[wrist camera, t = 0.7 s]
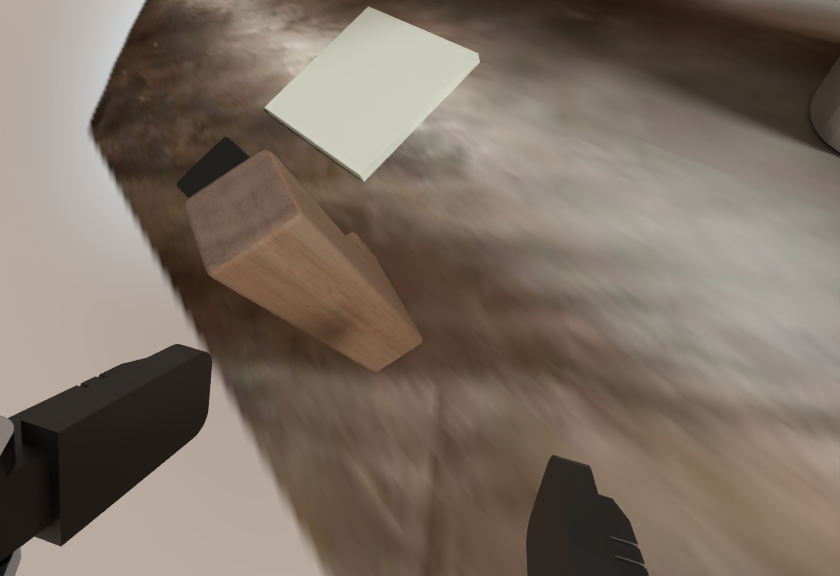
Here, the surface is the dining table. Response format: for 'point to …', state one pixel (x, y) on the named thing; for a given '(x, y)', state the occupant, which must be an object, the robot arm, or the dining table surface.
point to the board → (371, 89)
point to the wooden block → (298, 262)
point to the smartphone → (212, 166)
